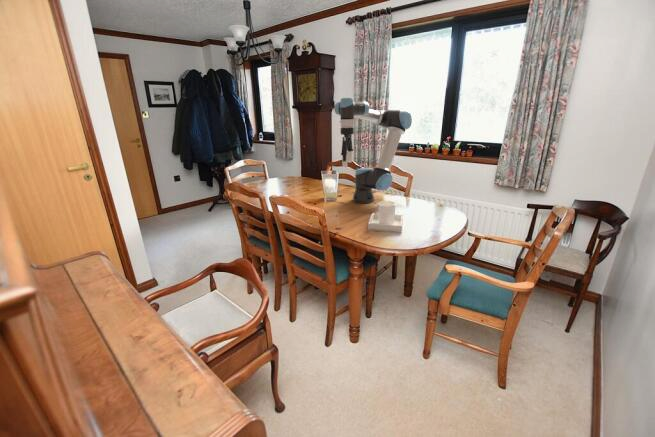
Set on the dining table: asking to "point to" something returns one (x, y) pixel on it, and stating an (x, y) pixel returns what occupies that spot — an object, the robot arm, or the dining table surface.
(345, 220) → the dining table surface
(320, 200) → the dining table surface
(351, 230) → the dining table surface
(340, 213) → the dining table surface
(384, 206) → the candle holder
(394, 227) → the crate
